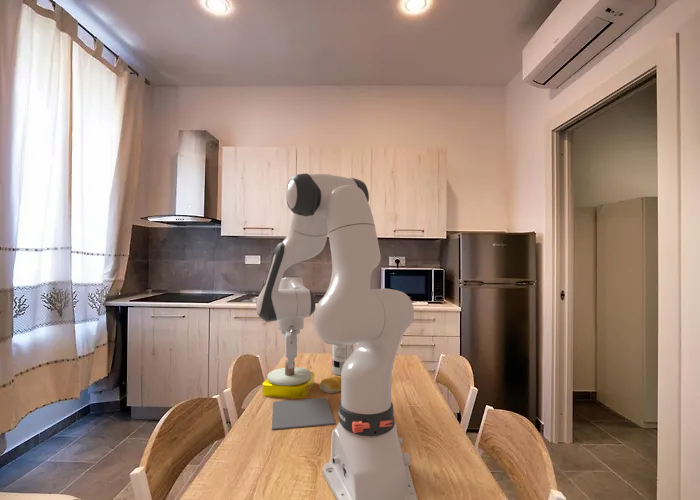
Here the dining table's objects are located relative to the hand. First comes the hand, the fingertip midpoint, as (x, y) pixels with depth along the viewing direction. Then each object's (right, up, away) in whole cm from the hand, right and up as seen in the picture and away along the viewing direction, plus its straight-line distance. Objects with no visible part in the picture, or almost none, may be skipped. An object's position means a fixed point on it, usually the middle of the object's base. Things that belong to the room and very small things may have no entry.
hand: (290, 363), depth 119 cm
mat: (+6, -9, -17) cm, 20 cm away
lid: (0, -5, 0) cm, 5 cm away
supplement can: (+18, -10, +18) cm, 27 cm away
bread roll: (+15, -10, +2) cm, 18 cm away
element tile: (-1, -10, +1) cm, 10 cm away
